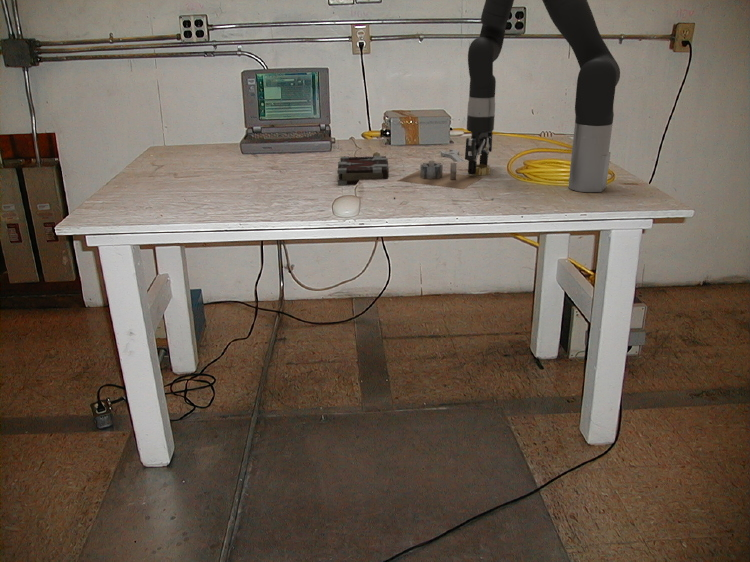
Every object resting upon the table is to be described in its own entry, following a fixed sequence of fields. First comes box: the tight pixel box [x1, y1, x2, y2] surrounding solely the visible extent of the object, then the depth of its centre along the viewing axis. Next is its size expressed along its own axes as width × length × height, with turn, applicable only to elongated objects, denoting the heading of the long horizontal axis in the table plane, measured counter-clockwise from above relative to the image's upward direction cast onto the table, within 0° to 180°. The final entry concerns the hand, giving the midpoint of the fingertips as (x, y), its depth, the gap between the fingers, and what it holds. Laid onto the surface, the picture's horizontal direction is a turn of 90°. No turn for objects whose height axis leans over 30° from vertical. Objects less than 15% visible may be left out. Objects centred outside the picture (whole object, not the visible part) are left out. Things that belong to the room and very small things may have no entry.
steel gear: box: [419, 162, 444, 180], centre depth 175 cm, size 6×6×4 cm
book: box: [336, 151, 390, 186], centre depth 186 cm, size 15×25×5 cm, turn 0°
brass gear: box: [473, 163, 491, 177], centre depth 179 cm, size 6×6×4 cm
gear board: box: [397, 160, 484, 190], centre depth 173 cm, size 20×14×6 cm
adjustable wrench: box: [440, 148, 467, 163], centre depth 200 cm, size 25×6×2 cm, turn 4°
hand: (477, 171), depth 179 cm, fingers open, 8 cm apart
